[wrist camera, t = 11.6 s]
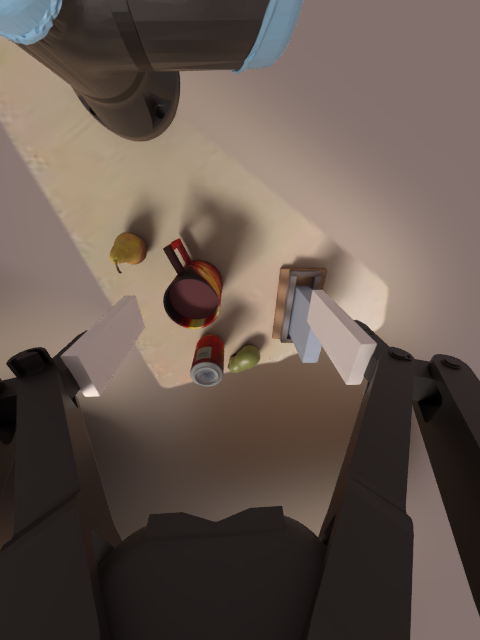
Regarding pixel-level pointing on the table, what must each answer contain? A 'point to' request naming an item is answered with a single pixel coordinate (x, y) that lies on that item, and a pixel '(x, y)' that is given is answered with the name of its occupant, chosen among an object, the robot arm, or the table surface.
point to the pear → (244, 359)
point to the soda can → (208, 361)
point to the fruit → (128, 250)
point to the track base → (292, 296)
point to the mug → (192, 290)
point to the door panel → (303, 326)
